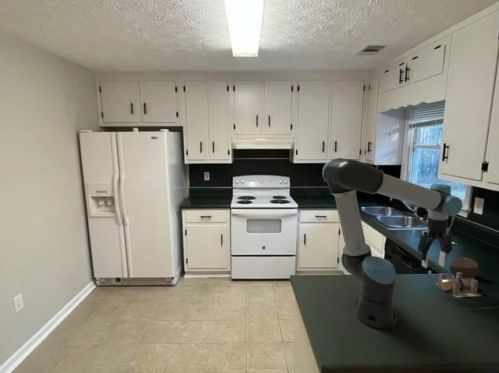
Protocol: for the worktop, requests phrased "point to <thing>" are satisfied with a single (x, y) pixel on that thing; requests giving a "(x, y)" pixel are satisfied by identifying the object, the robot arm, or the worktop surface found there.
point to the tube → (448, 283)
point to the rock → (464, 267)
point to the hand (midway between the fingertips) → (433, 266)
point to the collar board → (456, 287)
